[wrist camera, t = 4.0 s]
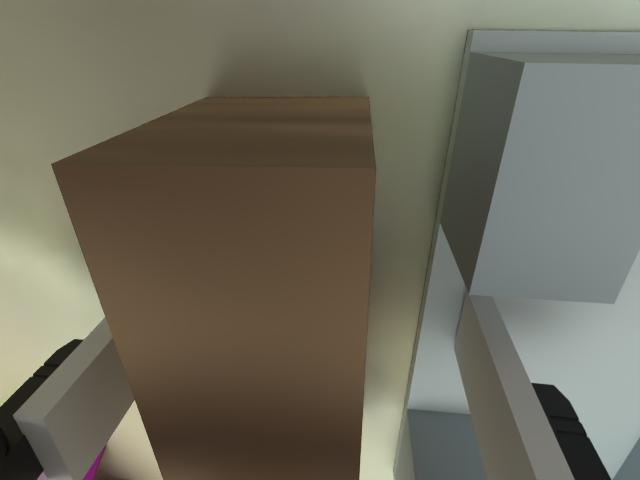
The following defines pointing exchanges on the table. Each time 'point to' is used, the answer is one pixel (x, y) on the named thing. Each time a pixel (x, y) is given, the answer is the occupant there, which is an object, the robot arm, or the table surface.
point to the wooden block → (237, 280)
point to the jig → (536, 242)
